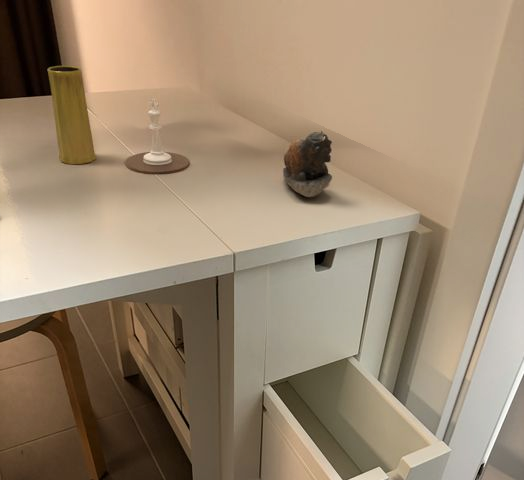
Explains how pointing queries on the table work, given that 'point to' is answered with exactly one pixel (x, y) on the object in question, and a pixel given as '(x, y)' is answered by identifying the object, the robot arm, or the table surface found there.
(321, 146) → the bison figurine
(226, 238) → the table surface
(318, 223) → the table surface
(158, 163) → the chess piece
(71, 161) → the vase
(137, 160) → the coaster
